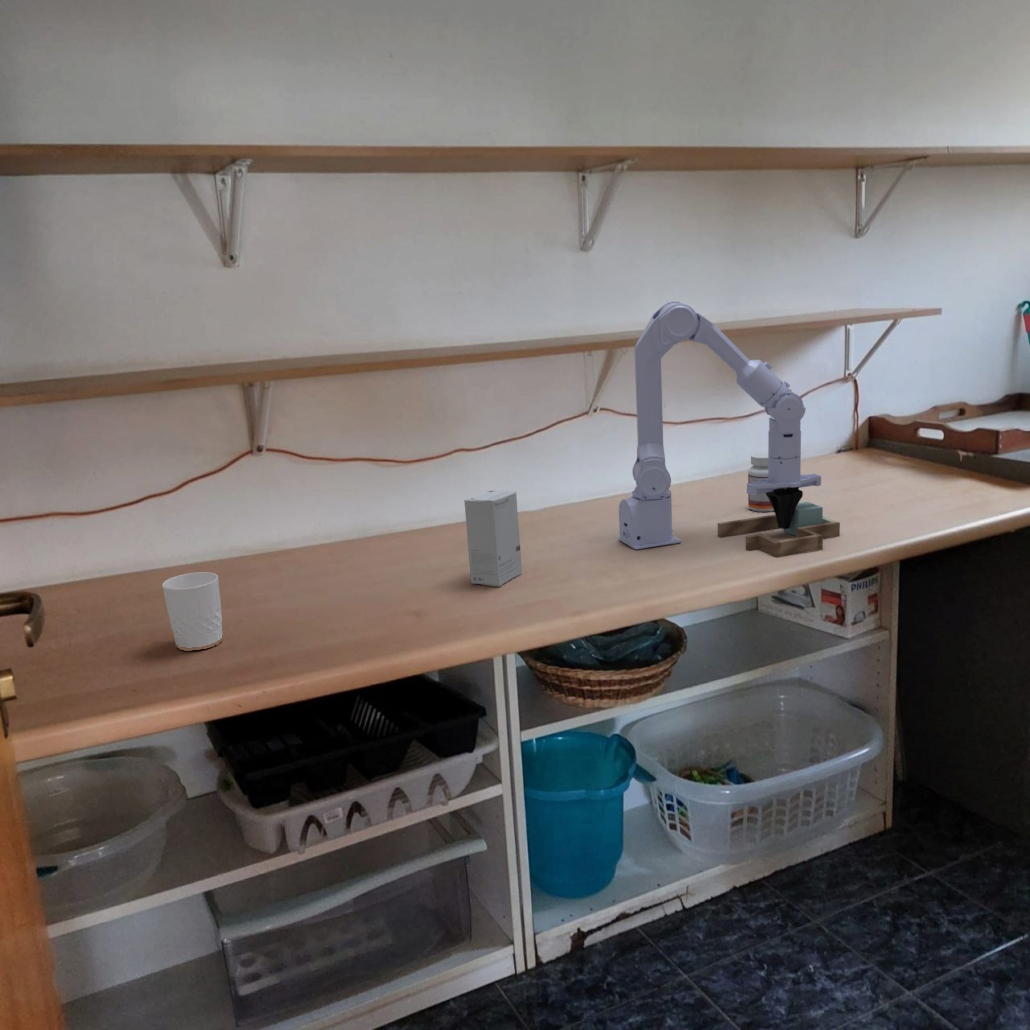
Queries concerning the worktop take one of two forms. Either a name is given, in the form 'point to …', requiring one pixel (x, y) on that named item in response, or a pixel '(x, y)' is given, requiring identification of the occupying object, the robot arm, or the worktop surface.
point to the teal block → (805, 516)
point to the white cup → (194, 608)
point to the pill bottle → (757, 474)
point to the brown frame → (805, 541)
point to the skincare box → (493, 537)
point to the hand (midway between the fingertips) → (783, 527)
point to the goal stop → (827, 520)
